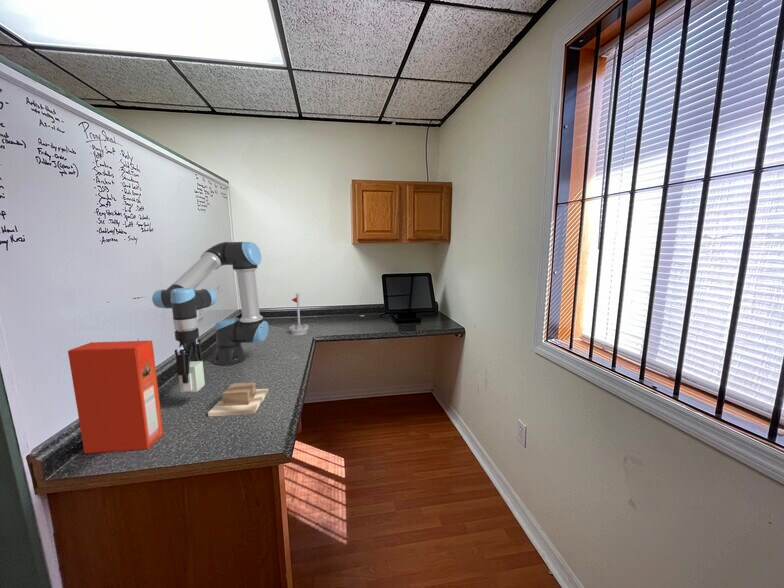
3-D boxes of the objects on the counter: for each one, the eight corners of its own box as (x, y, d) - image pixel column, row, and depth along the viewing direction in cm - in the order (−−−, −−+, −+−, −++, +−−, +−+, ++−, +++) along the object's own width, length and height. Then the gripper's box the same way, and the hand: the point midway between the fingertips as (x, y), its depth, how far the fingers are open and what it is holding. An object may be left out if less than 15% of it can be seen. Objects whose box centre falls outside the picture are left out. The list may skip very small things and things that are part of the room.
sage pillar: (189, 385, 122) (186, 361, 120) (204, 384, 122) (202, 361, 121) (180, 392, 116) (177, 367, 114) (197, 391, 116) (194, 366, 115)
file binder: (146, 450, 92) (134, 348, 88) (83, 454, 90) (67, 350, 86) (163, 434, 100) (152, 340, 96) (105, 438, 98) (92, 342, 94)
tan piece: (229, 393, 128) (227, 379, 128) (268, 391, 130) (267, 377, 129) (208, 416, 111) (206, 399, 110) (254, 413, 112) (253, 397, 112)
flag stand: (311, 331, 231) (309, 292, 227) (304, 335, 218) (302, 294, 214) (294, 330, 232) (292, 291, 228) (287, 335, 219) (285, 294, 215)
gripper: (189, 323, 124) (195, 376, 128) (159, 336, 106) (167, 398, 109) (209, 322, 125) (214, 375, 129) (182, 335, 106) (189, 397, 110)
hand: (192, 386), depth 119 cm, fingers closed on sage pillar, 6 cm apart
